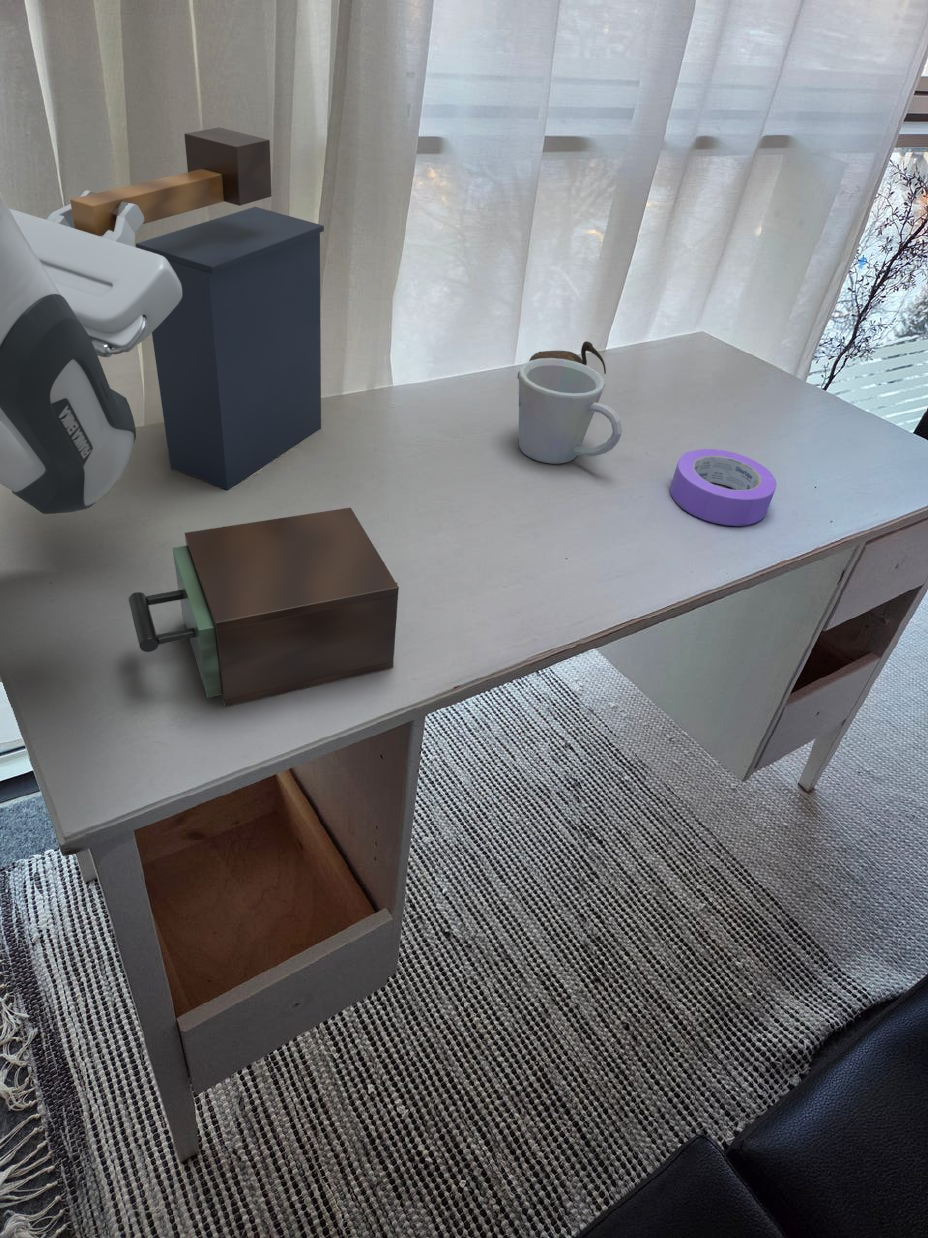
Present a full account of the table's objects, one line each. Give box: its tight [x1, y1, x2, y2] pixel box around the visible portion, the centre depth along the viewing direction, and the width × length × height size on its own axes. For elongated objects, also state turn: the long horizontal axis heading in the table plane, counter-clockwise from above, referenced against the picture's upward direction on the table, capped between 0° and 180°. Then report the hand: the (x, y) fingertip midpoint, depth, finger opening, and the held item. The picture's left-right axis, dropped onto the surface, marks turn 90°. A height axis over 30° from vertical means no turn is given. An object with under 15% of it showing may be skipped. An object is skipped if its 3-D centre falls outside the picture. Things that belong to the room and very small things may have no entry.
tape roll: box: [669, 448, 777, 527], centre depth 100 cm, size 12×12×4 cm
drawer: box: [128, 545, 222, 698], centre depth 70 cm, size 18×11×7 cm, turn 114°
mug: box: [518, 358, 623, 465], centre depth 102 cm, size 10×15×10 cm
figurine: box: [517, 340, 607, 378], centre depth 117 cm, size 14×4×9 cm, turn 40°
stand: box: [135, 206, 325, 491], centre depth 92 cm, size 18×9×24 cm, turn 153°
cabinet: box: [184, 507, 400, 708], centre depth 72 cm, size 15×12×9 cm
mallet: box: [69, 126, 273, 237], centre depth 75 cm, size 21×6×5 cm, turn 153°
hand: (116, 203), depth 70 cm, fingers closed on mallet, 2 cm apart
